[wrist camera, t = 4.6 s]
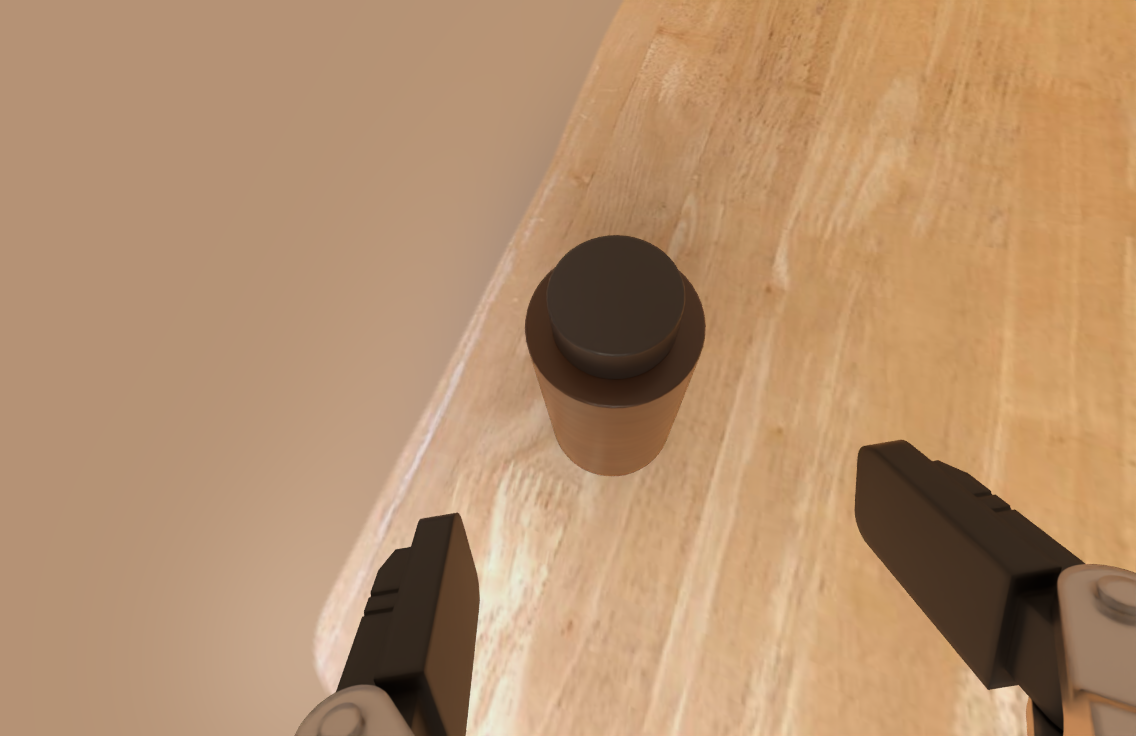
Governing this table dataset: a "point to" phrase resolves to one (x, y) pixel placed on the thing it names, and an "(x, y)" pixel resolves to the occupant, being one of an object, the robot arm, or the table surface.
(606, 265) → the pepper mill
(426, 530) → the robot arm
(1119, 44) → the table surface
